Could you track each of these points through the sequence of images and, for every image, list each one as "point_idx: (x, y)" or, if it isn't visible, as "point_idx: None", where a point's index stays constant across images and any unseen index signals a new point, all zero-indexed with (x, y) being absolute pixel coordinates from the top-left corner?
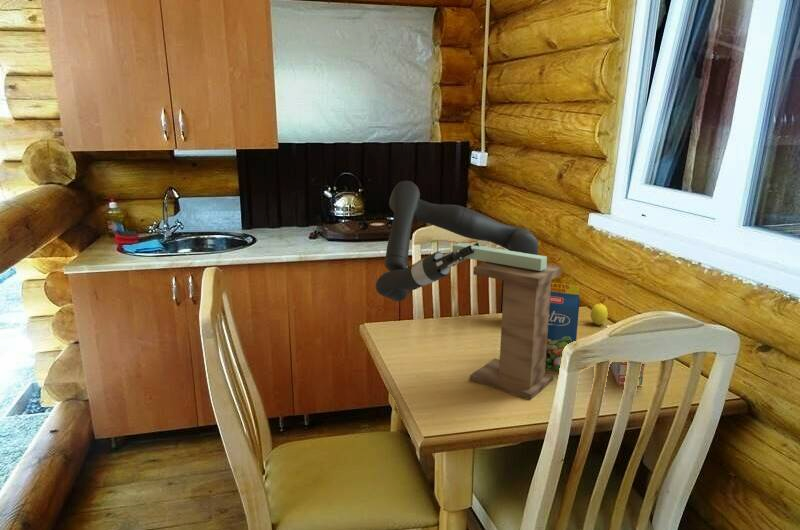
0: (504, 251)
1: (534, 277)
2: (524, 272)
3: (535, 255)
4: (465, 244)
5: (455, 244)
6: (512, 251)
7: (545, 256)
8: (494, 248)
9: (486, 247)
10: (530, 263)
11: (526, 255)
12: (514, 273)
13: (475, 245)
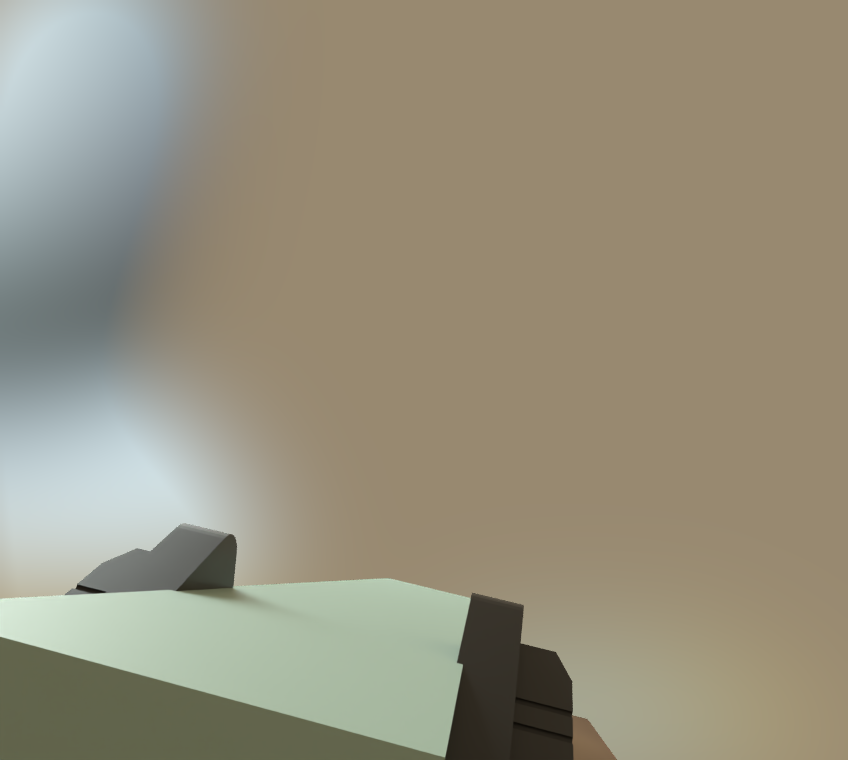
0: (398, 596)
1: (578, 722)
2: None
3: (400, 583)
4: (156, 613)
5: (266, 698)
6: (359, 583)
7: (392, 579)
8: (311, 584)
9: (294, 590)
10: None
11: (435, 594)
12: (590, 754)
13: (202, 590)
